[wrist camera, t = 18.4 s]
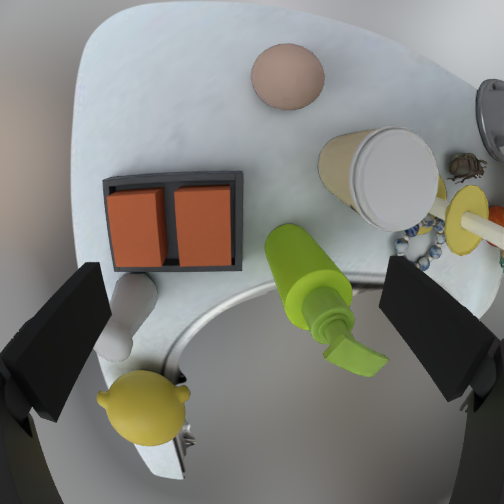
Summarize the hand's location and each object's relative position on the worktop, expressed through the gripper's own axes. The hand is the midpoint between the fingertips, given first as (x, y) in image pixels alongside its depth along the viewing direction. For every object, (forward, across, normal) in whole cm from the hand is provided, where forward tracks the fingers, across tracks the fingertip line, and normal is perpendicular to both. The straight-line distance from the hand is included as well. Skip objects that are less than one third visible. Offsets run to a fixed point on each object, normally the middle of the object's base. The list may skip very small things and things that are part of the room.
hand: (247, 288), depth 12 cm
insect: (+19, +33, +5) cm, 38 cm away
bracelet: (+21, +26, -6) cm, 34 cm away
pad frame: (+21, -7, -3) cm, 23 cm away
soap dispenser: (+22, +7, -7) cm, 24 cm away
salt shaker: (+21, -13, -11) cm, 27 cm away
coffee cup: (+22, +13, +4) cm, 26 cm away
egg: (+22, +5, +13) cm, 26 cm away
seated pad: (+21, -11, -3) cm, 24 cm away
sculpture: (+20, -17, -35) cm, 44 cm away
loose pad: (+21, -4, -3) cm, 21 cm away
